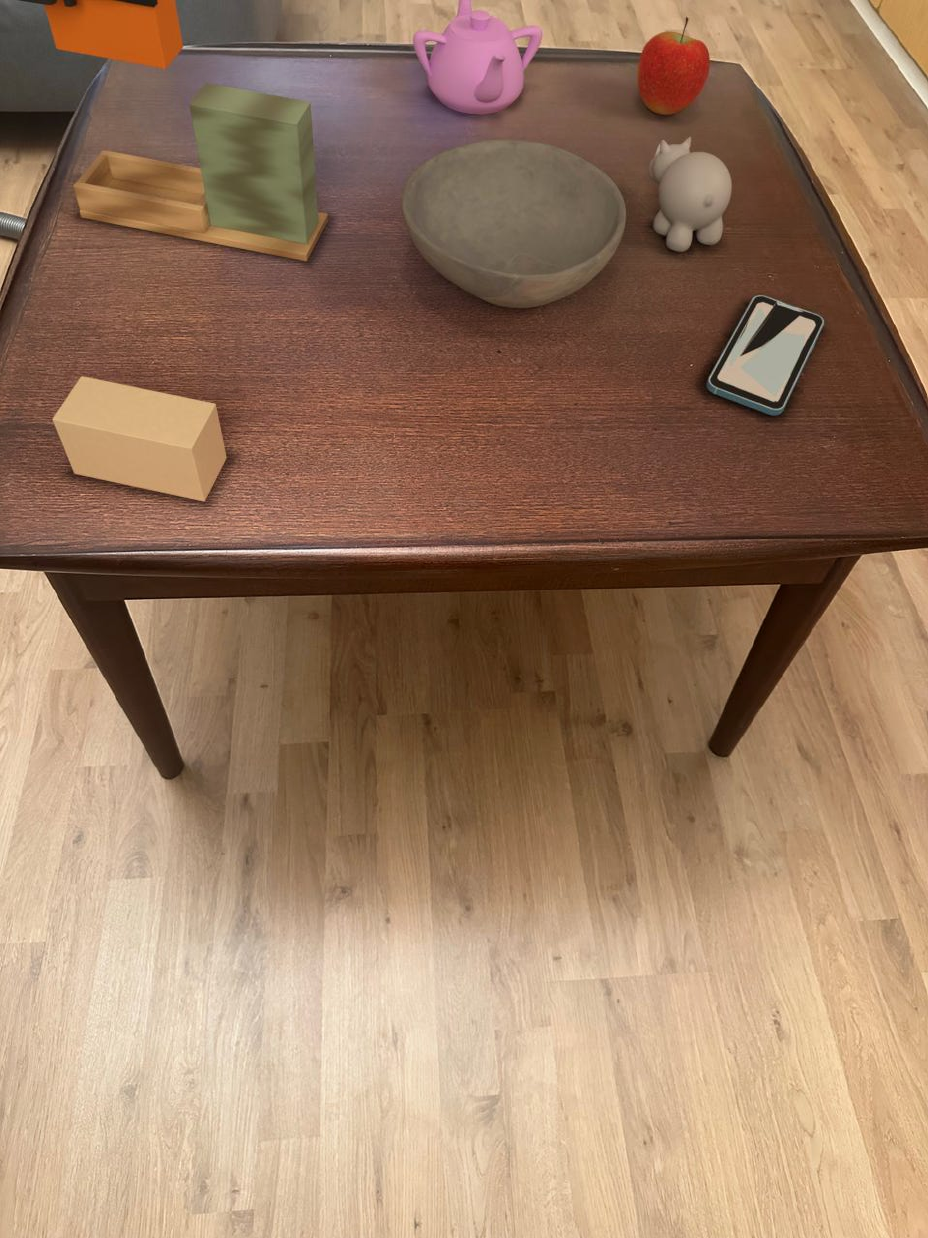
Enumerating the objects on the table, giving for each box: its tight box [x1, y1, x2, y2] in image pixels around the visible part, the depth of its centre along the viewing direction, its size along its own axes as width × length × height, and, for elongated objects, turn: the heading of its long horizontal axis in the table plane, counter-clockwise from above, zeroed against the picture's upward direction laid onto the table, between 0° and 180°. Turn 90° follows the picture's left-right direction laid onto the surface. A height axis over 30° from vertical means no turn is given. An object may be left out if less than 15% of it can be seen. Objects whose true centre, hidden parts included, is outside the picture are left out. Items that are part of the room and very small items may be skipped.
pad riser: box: [52, 375, 227, 502], centre depth 74 cm, size 11×5×6 cm, turn 77°
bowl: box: [400, 139, 627, 309], centre depth 90 cm, size 21×21×8 cm
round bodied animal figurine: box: [647, 136, 733, 253], centre depth 97 cm, size 7×12×8 cm, turn 18°
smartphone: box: [705, 294, 825, 416], centre depth 89 cm, size 7×1×15 cm
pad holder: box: [72, 82, 329, 262], centre depth 90 cm, size 24×7×13 cm, turn 77°
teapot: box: [412, 0, 543, 115], centre depth 109 cm, size 12×14×9 cm
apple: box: [636, 16, 711, 116], centre depth 109 cm, size 8×8×10 cm
